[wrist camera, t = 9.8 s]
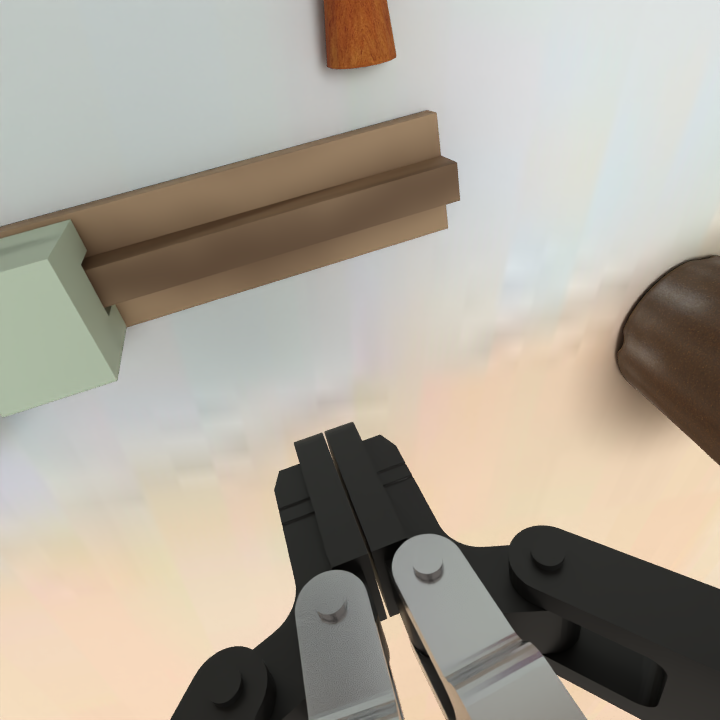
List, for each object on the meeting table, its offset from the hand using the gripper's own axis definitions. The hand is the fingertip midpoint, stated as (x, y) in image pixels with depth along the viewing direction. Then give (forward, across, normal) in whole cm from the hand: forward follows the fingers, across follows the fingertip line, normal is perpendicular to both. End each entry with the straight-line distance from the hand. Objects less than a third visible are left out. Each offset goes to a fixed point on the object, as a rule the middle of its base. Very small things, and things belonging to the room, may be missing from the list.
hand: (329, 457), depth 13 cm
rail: (+20, +2, 0) cm, 20 cm away
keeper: (+18, +10, 0) cm, 21 cm away
